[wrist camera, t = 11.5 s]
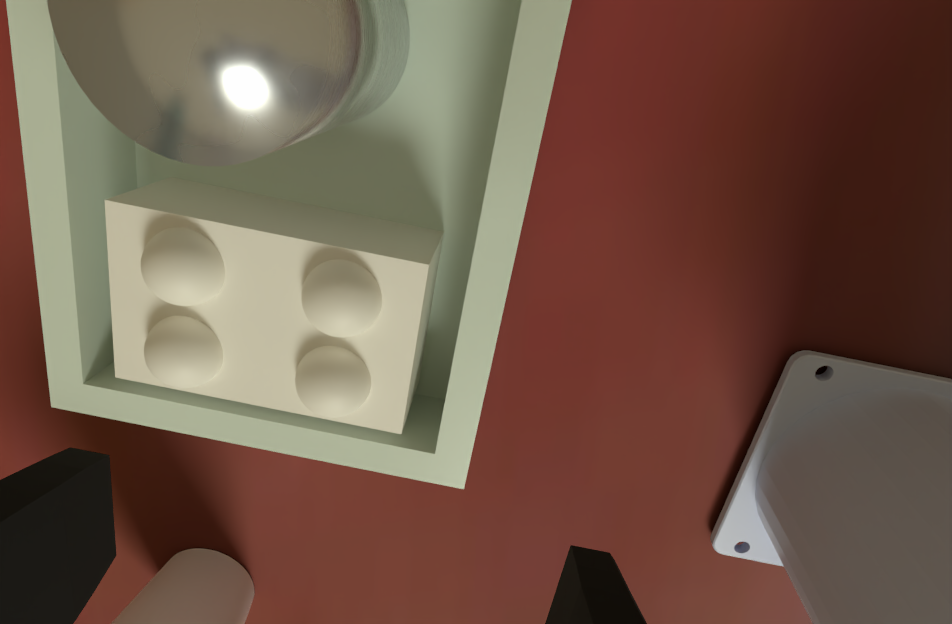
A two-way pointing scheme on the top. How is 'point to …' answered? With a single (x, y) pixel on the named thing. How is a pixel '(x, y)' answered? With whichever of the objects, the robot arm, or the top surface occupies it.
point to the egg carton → (270, 301)
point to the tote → (319, 184)
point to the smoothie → (193, 592)
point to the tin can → (232, 69)
